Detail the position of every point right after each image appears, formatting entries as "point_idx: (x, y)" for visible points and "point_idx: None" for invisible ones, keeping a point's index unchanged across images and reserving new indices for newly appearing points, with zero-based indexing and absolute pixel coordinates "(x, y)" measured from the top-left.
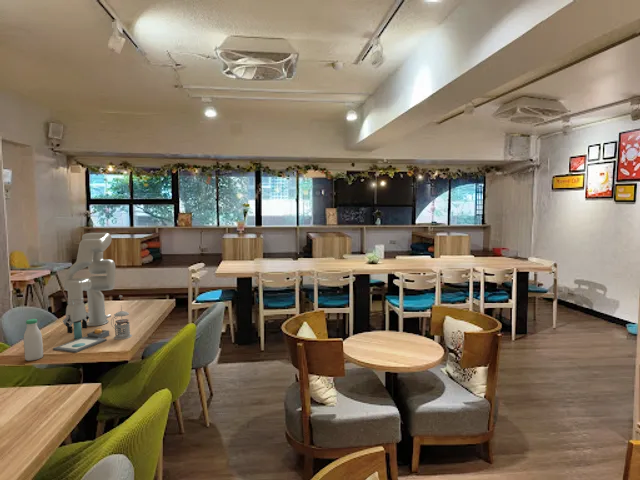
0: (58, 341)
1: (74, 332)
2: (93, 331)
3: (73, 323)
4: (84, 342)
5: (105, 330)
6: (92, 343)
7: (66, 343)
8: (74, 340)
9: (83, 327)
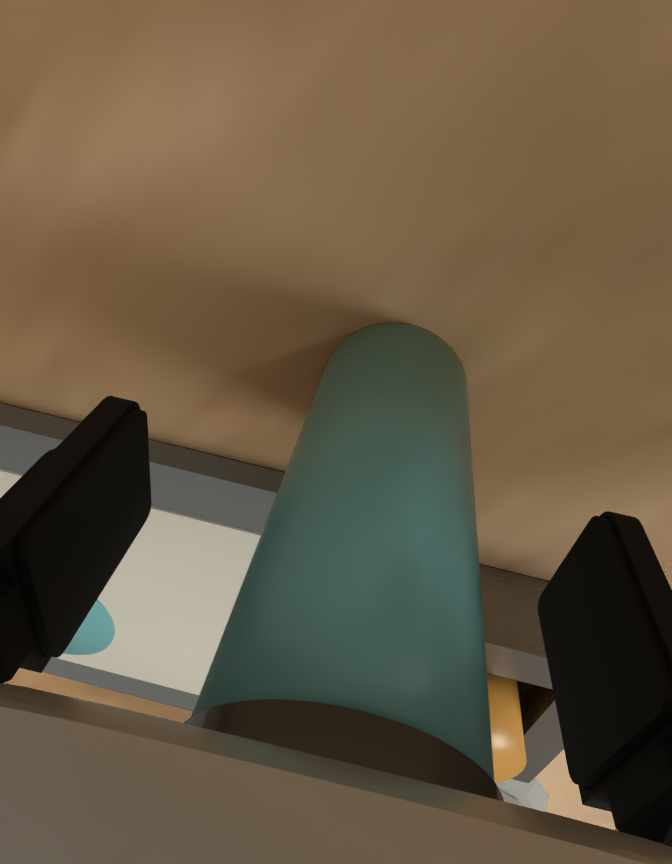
0: (116, 72)
1: (294, 451)
2: (501, 651)
3: (213, 671)
4: (142, 623)
5: (540, 756)
6: (151, 688)
7: (16, 438)
8: (171, 472)
9: (578, 566)
